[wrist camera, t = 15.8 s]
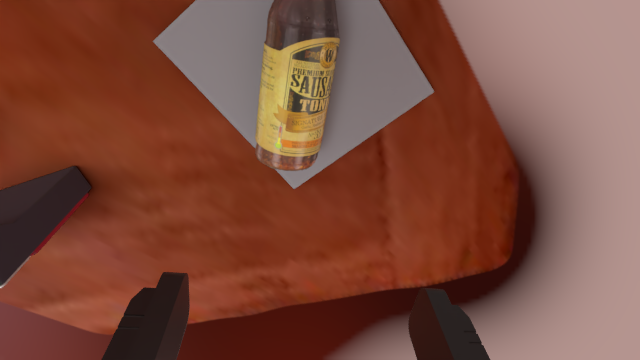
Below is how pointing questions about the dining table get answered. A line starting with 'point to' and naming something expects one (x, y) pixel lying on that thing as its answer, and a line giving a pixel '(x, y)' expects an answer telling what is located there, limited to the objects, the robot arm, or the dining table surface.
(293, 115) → the sauce bottle
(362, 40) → the slate mat
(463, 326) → the robot arm
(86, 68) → the dining table surface
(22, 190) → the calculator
